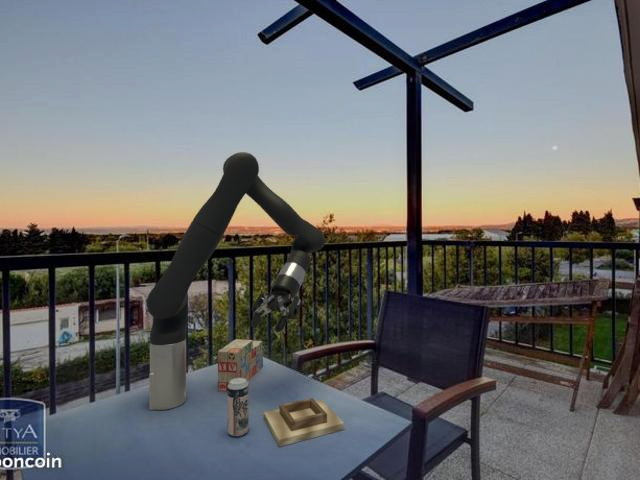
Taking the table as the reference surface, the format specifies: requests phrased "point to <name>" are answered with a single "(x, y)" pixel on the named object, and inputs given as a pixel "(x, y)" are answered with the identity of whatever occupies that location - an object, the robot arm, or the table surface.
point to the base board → (302, 421)
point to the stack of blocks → (239, 361)
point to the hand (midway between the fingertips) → (264, 328)
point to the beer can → (238, 407)
